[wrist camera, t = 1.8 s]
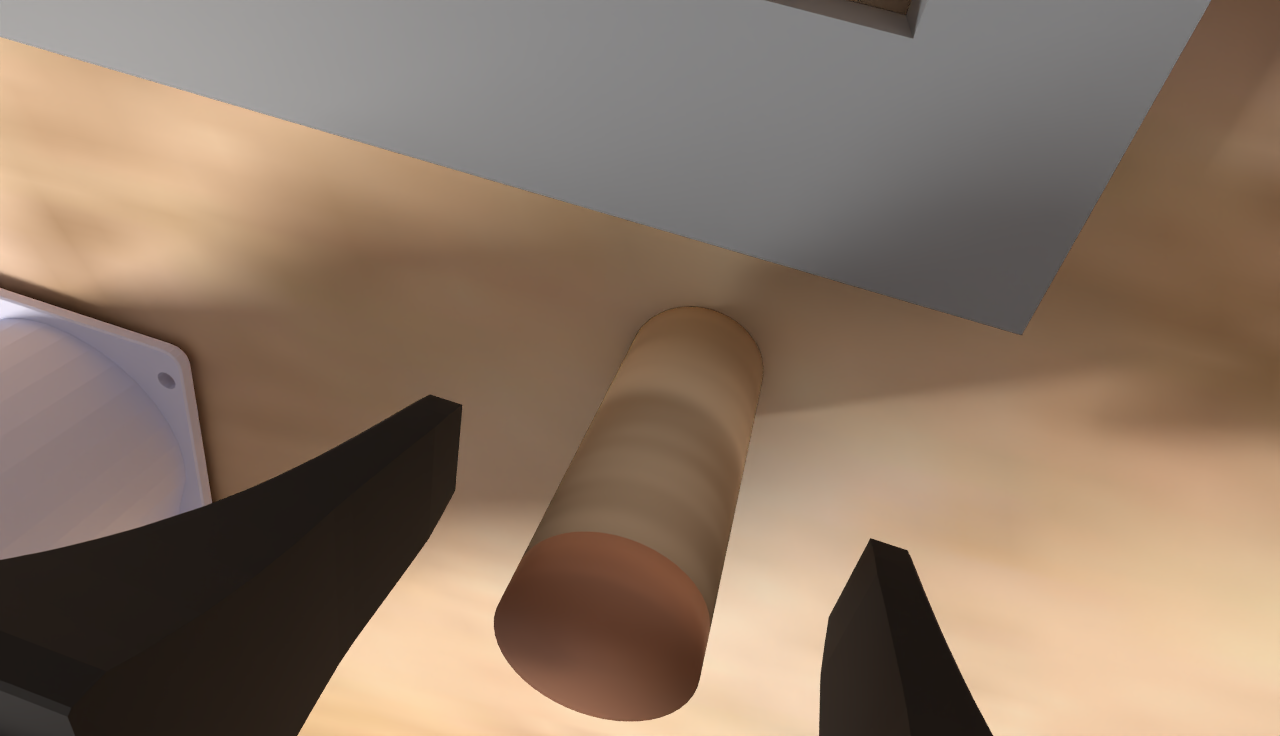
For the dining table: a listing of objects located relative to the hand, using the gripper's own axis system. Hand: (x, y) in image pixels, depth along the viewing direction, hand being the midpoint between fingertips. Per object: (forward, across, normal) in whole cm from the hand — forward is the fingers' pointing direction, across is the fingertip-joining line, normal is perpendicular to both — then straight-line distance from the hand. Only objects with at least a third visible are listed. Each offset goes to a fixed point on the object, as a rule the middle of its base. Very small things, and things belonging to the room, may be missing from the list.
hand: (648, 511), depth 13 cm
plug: (+5, 0, 0) cm, 5 cm away
